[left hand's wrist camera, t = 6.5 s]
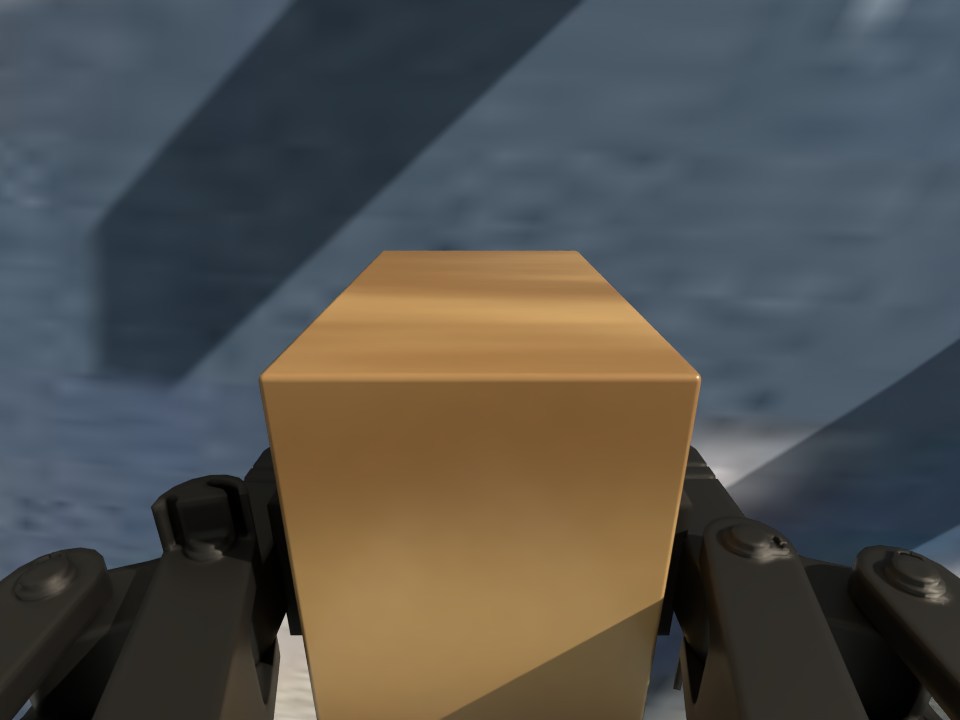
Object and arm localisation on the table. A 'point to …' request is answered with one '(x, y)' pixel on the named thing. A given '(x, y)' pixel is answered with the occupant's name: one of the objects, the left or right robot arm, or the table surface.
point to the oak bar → (479, 488)
